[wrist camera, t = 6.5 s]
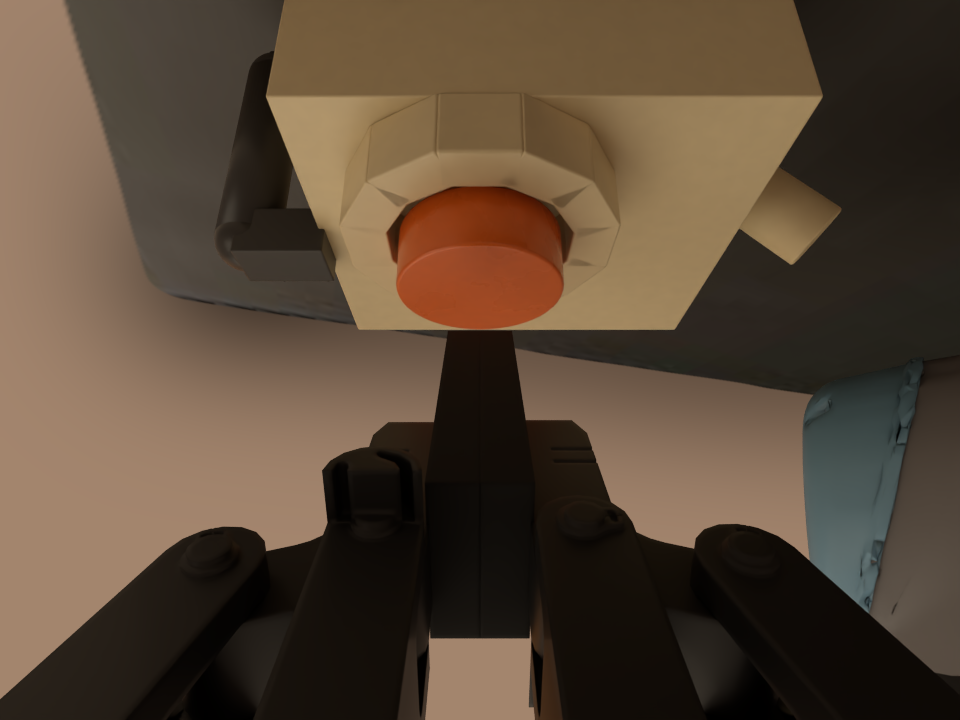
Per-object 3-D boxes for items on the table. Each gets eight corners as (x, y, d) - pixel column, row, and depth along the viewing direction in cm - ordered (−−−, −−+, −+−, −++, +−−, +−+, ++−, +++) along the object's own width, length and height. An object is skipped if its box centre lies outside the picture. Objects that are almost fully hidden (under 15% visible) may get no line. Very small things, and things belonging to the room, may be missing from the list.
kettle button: (570, 183, 15) (575, 244, 14) (551, 279, 19) (554, 330, 18) (389, 183, 15) (384, 244, 14) (408, 279, 19) (405, 330, 18)
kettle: (748, -161, 18) (846, 151, 13) (647, 139, 29) (680, 370, 24) (312, -161, 18) (250, 151, 13) (375, 139, 29) (354, 370, 24)
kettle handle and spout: (879, -179, 18) (1013, 101, 13) (718, 149, 30) (760, 353, 25) (188, -179, 18) (90, 101, 13) (305, 149, 30) (274, 353, 25)
